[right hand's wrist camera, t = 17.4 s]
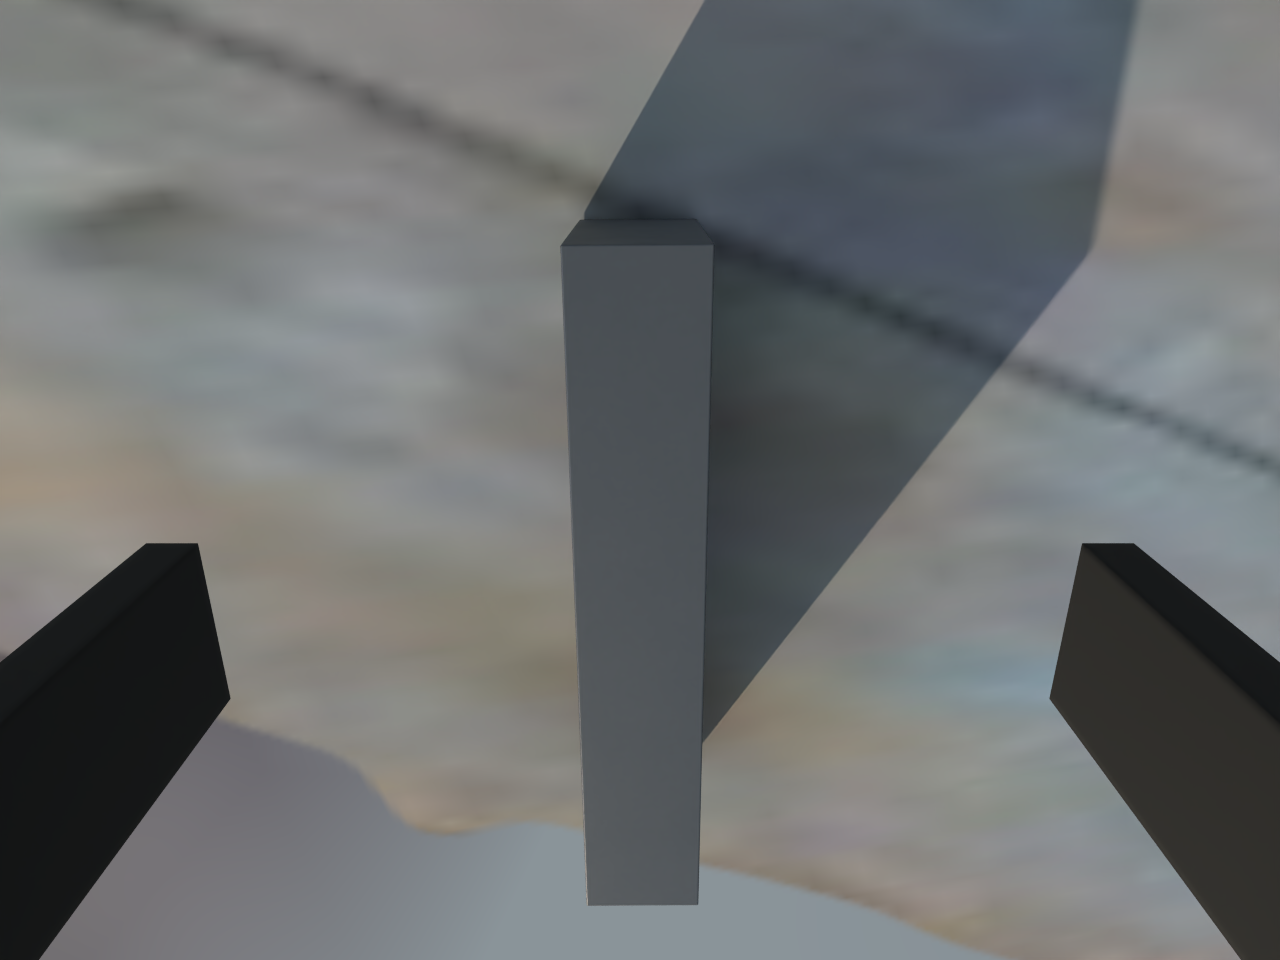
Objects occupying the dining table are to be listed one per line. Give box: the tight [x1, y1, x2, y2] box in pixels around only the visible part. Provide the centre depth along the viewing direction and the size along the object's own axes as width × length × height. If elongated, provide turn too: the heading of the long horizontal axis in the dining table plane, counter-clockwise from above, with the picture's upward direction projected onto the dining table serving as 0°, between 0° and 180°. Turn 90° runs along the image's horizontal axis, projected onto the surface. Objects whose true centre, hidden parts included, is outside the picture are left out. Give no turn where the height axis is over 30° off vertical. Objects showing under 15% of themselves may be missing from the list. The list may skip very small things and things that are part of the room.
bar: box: [561, 219, 714, 906], centre depth 34 cm, size 26×5×9 cm, turn 0°
